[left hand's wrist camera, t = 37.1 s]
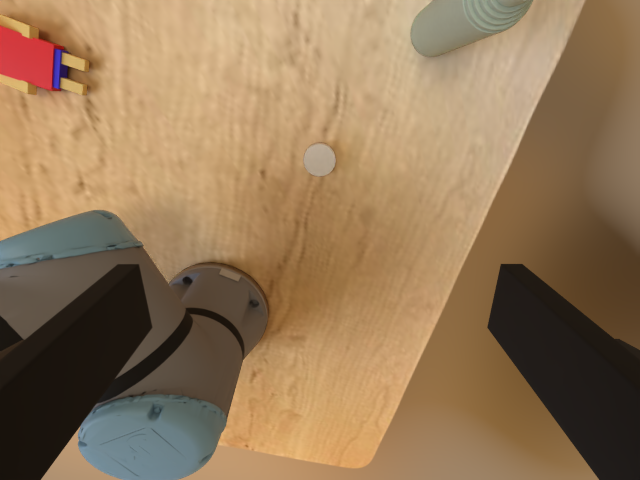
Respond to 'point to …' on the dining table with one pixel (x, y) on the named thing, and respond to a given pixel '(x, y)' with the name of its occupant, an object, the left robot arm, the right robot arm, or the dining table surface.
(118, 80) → the dining table surface
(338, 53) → the dining table surface
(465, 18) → the bottle
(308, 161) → the cap
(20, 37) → the toy figure
